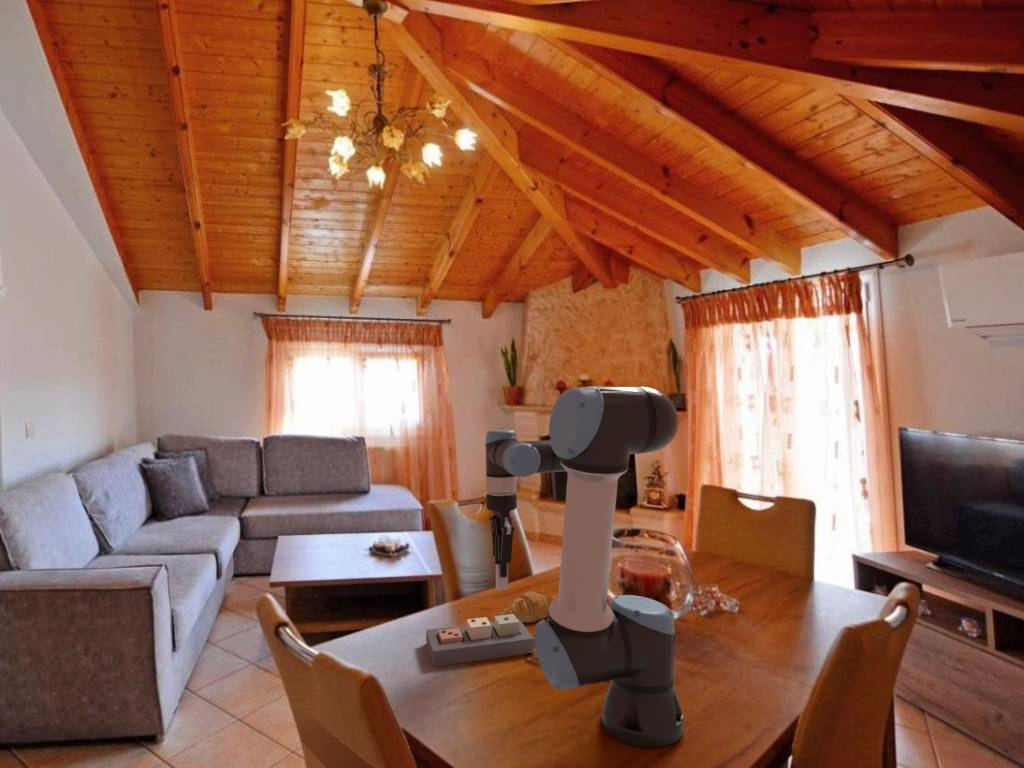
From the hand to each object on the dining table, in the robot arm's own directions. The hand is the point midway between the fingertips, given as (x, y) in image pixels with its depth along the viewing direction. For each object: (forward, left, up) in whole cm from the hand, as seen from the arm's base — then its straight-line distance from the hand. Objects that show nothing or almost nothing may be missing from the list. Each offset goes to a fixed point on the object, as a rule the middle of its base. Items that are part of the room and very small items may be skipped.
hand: (501, 588), depth 143 cm
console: (0, +6, -14) cm, 15 cm away
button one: (0, -1, -11) cm, 11 cm away
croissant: (+16, -12, -15) cm, 25 cm away
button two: (0, +6, -11) cm, 12 cm away
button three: (0, +13, -13) cm, 18 cm away
